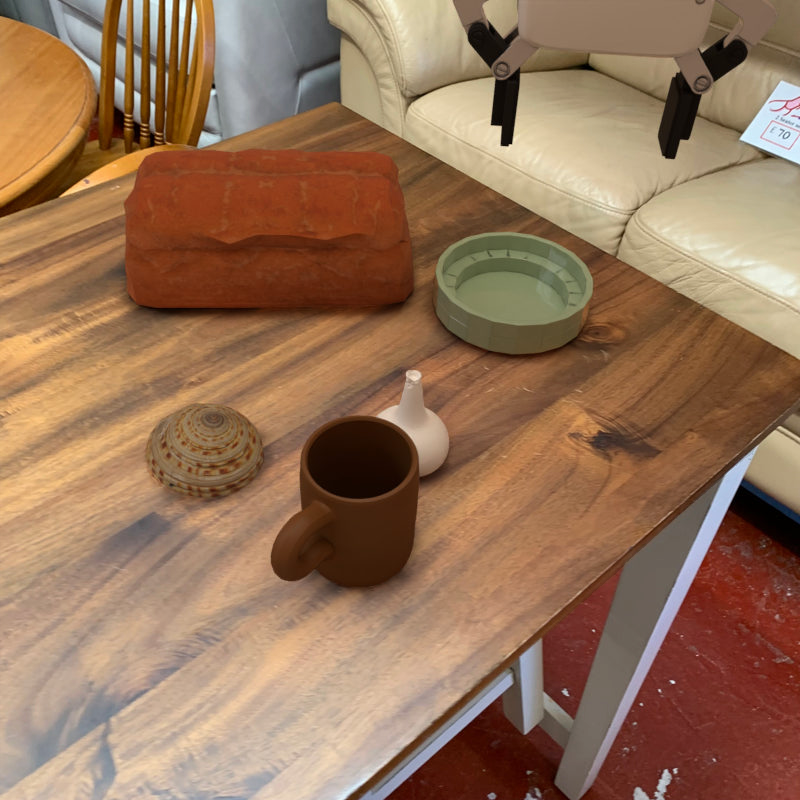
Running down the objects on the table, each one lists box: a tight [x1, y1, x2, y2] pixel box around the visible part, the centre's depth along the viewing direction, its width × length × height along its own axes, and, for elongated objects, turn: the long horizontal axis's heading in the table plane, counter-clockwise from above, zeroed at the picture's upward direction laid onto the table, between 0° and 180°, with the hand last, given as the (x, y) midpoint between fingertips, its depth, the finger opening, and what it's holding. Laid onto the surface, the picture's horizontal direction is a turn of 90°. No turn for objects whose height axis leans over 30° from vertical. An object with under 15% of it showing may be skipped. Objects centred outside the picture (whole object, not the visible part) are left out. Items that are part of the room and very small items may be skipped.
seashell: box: [145, 402, 265, 499], centre depth 62 cm, size 8×6×8 cm
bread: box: [123, 148, 415, 309], centre depth 77 cm, size 16×27×11 cm, turn 94°
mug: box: [270, 414, 420, 589], centre depth 53 cm, size 12×8×9 cm, turn 146°
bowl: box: [432, 231, 594, 355], centre depth 76 cm, size 14×14×4 cm
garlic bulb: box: [375, 369, 450, 478], centre depth 61 cm, size 6×6×8 cm
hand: (585, 142), depth 50 cm, fingers open, 9 cm apart
